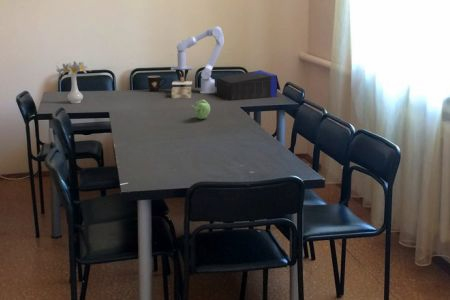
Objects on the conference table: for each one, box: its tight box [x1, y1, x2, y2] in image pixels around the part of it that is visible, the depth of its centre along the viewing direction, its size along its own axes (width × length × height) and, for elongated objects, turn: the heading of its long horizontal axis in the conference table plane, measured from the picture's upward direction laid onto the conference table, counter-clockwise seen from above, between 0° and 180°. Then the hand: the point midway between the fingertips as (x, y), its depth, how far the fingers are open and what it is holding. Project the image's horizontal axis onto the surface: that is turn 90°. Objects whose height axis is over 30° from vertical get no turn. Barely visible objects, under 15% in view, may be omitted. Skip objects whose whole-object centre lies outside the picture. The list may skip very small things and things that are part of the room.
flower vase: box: [55, 61, 88, 104], centre depth 352 cm, size 13×18×25 cm
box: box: [171, 86, 192, 99], centre depth 373 cm, size 12×12×5 cm
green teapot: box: [190, 99, 211, 120], centre depth 308 cm, size 12×11×11 cm
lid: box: [171, 76, 193, 86], centre depth 385 cm, size 13×13×4 cm
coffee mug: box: [147, 75, 167, 93], centre depth 390 cm, size 12×9×10 cm
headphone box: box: [216, 69, 281, 102], centre depth 374 cm, size 25×35×14 cm
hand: (182, 81), depth 385 cm, fingers closed on lid, 3 cm apart
